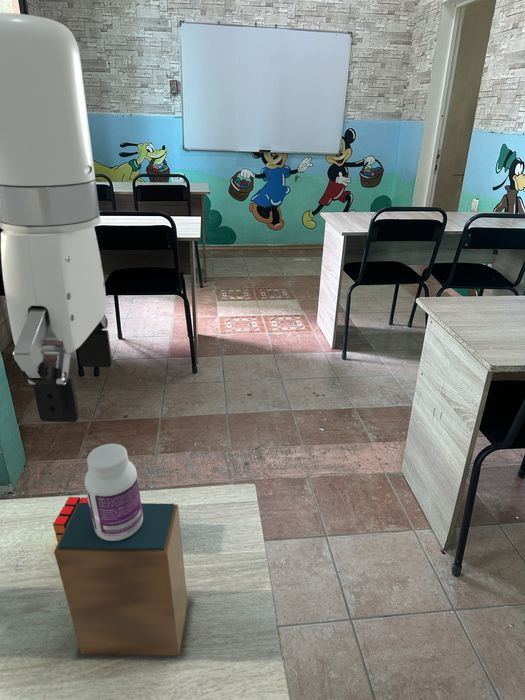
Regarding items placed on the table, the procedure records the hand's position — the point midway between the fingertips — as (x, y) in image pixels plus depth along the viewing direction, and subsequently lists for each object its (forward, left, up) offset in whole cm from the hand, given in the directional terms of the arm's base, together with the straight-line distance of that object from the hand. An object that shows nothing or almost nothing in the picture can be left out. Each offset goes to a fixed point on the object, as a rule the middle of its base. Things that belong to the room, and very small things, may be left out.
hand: (80, 390), depth 46 cm
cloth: (+1, +1, -18) cm, 18 cm away
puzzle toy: (-17, +7, -36) cm, 40 cm away
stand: (+1, +1, -36) cm, 36 cm away
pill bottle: (+1, +1, -18) cm, 18 cm away
